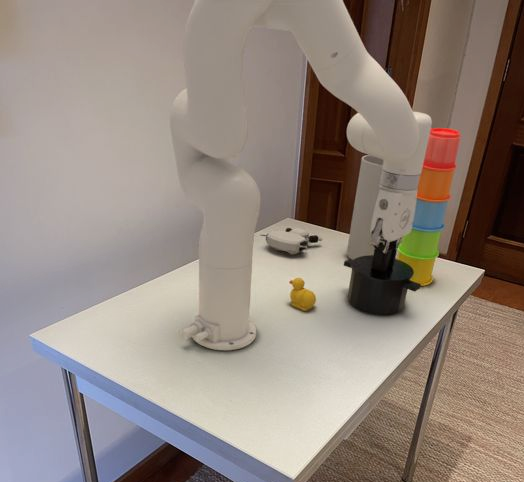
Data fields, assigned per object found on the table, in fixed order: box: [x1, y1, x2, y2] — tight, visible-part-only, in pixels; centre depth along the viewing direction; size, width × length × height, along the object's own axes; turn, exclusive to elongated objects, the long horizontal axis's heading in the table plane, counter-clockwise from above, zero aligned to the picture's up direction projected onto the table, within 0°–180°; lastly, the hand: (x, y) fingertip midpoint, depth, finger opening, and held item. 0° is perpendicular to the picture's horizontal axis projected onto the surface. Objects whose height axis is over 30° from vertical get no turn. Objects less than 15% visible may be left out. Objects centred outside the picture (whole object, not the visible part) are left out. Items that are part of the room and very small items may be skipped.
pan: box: [343, 258, 422, 317], centre depth 116 cm, size 12×18×8 cm
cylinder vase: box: [346, 154, 396, 260], centre depth 134 cm, size 12×12×25 cm
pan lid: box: [350, 246, 414, 283], centre depth 113 cm, size 13×13×6 cm
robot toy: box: [259, 227, 323, 255], centre depth 142 cm, size 12×4×15 cm
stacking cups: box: [396, 127, 462, 287], centre depth 122 cm, size 10×10×35 cm
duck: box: [289, 277, 317, 312], centre depth 113 cm, size 7×4×6 cm, turn 49°
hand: (382, 266), depth 114 cm, fingers closed on pan lid, 2 cm apart
